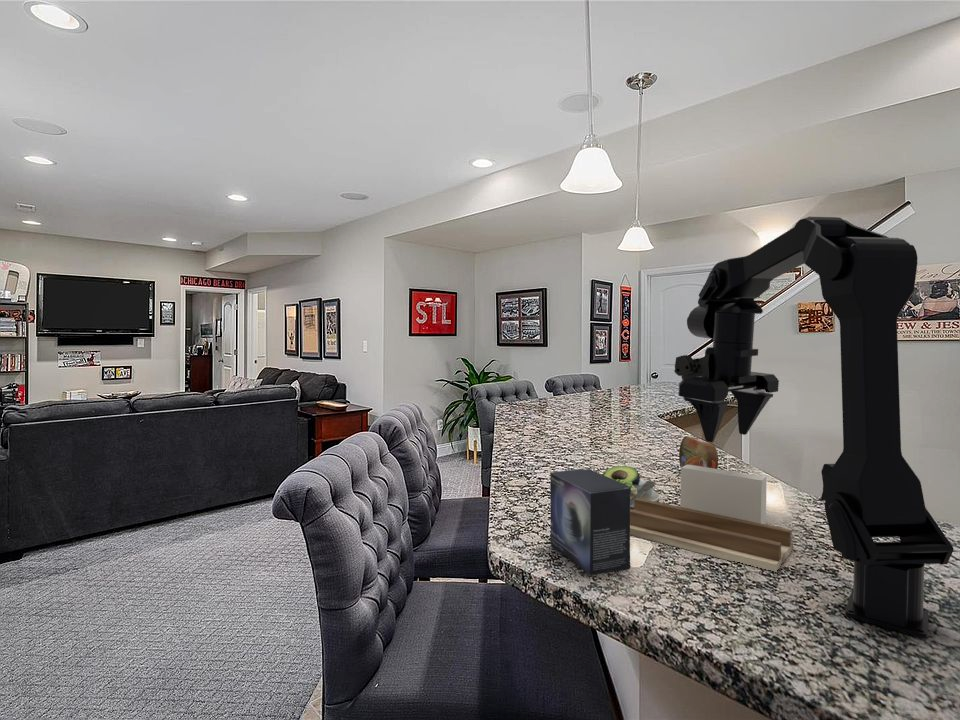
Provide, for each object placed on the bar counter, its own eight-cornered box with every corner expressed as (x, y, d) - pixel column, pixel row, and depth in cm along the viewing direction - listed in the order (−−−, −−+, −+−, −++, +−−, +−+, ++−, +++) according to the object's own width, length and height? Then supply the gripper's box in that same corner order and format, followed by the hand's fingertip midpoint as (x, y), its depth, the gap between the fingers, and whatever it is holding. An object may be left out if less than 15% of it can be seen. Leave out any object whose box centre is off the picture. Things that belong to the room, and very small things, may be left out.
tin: (677, 470, 117) (678, 433, 117) (691, 470, 117) (692, 433, 117) (704, 488, 102) (705, 446, 102) (720, 489, 102) (721, 446, 102)
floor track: (776, 572, 64) (776, 548, 64) (612, 530, 79) (612, 510, 79) (793, 549, 72) (793, 527, 72) (640, 514, 86) (641, 496, 86)
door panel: (760, 533, 78) (761, 480, 78) (680, 515, 86) (680, 467, 86) (765, 528, 80) (766, 476, 80) (686, 511, 88) (687, 464, 88)
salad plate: (681, 518, 86) (681, 490, 85) (571, 515, 87) (571, 488, 86) (649, 486, 105) (650, 463, 105) (560, 484, 106) (560, 462, 106)
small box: (546, 545, 73) (547, 470, 73) (586, 539, 75) (587, 467, 75) (587, 576, 63) (588, 490, 63) (632, 568, 66) (633, 485, 65)
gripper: (720, 337, 95) (715, 421, 97) (652, 340, 85) (648, 434, 86) (783, 341, 85) (776, 434, 87) (715, 345, 75) (709, 451, 77)
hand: (726, 437), depth 85 cm, fingers open, 9 cm apart
